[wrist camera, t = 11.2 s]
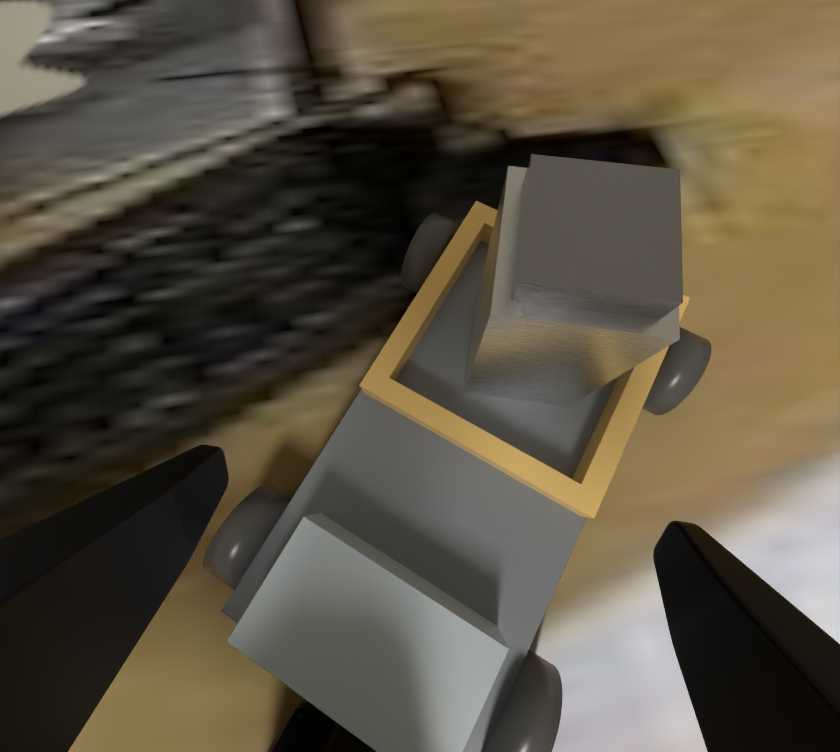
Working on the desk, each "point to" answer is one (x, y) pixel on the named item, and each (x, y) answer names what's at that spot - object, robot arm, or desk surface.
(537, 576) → the truck
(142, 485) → the robot arm
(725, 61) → the desk surface
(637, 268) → the grey block
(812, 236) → the desk surface
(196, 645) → the desk surface
